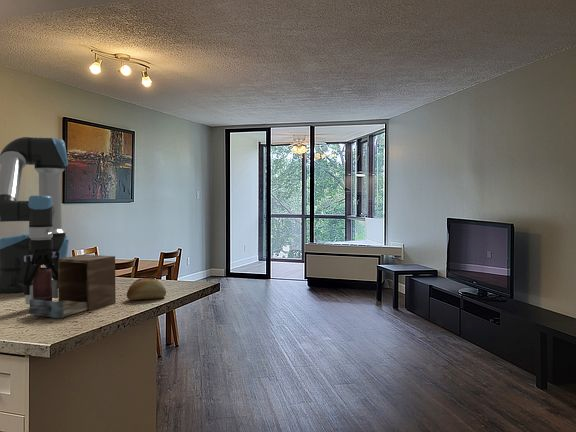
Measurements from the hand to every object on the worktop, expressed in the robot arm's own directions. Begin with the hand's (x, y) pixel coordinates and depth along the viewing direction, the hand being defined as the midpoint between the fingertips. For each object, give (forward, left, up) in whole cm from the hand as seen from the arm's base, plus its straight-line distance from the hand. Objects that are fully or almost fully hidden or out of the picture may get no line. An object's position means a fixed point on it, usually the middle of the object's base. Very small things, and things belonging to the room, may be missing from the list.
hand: (42, 300), depth 169 cm
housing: (+13, +8, -2) cm, 15 cm away
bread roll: (+26, +25, -3) cm, 36 cm away
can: (0, 0, -3) cm, 3 cm away
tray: (+13, -6, -2) cm, 15 cm away
